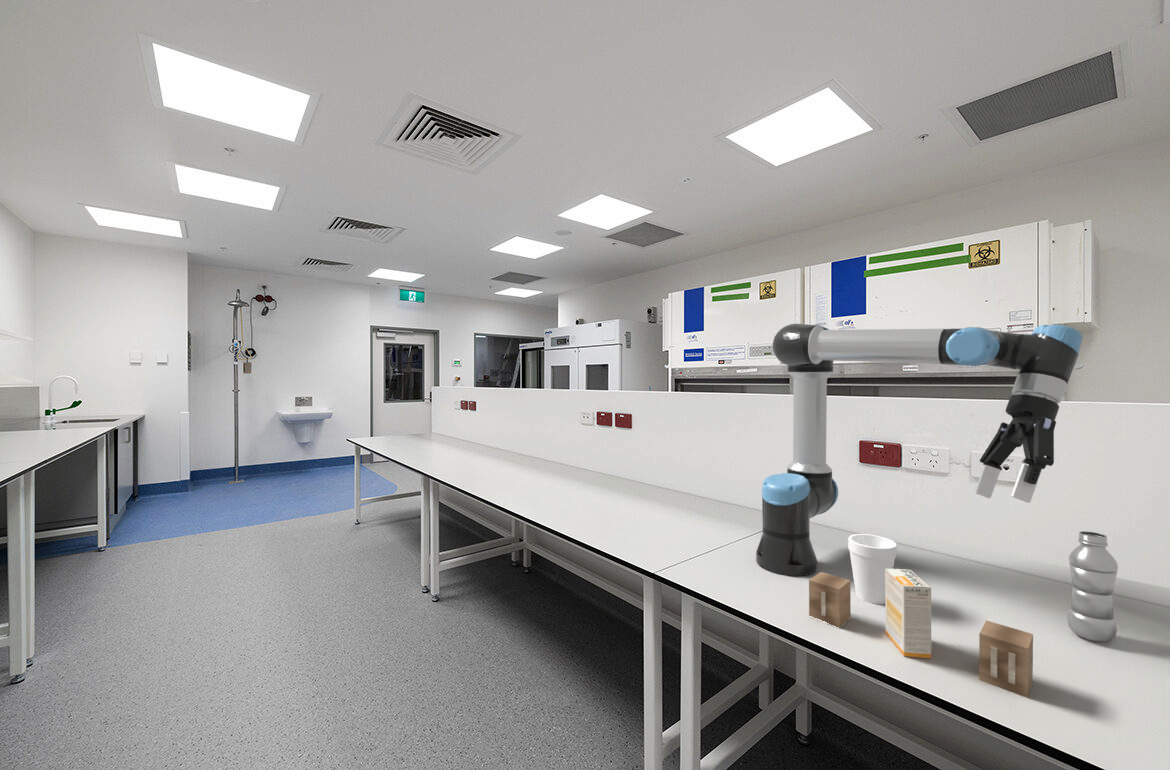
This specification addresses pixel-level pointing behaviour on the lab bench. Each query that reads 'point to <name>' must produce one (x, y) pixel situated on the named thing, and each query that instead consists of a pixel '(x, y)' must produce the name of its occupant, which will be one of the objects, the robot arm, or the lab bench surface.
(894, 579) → the supplement box
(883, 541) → the foam cup
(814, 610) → the walnut block one
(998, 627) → the walnut block two
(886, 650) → the lab bench surface
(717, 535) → the lab bench surface
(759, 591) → the lab bench surface
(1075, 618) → the plastic bottle
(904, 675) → the lab bench surface
